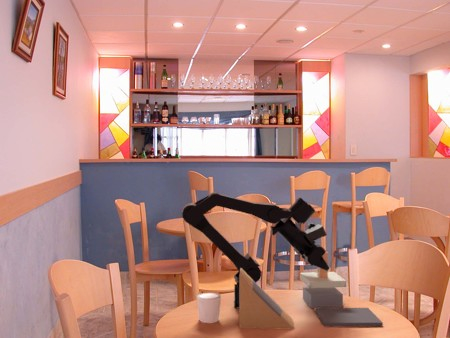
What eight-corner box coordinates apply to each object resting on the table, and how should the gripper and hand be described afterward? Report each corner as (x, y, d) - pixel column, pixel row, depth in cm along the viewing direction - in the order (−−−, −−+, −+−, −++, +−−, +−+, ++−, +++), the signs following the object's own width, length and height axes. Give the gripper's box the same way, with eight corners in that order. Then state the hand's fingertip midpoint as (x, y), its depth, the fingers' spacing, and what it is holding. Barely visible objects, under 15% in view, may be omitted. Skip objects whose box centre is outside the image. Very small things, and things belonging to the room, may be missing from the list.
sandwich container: (295, 329, 133) (295, 275, 132) (239, 328, 133) (239, 274, 133) (293, 319, 141) (293, 267, 141) (240, 318, 142) (240, 266, 141)
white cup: (193, 322, 138) (193, 297, 138) (202, 314, 144) (202, 291, 144) (215, 325, 136) (215, 300, 135) (224, 317, 142) (224, 293, 142)
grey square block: (311, 308, 150) (311, 295, 150) (302, 298, 160) (302, 286, 160) (342, 307, 151) (342, 294, 151) (332, 297, 161) (332, 285, 161)
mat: (324, 326, 134) (324, 323, 134) (315, 311, 147) (315, 308, 147) (382, 326, 135) (382, 322, 134) (367, 310, 148) (367, 307, 147)
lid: (309, 288, 149) (309, 255, 149) (300, 278, 161) (300, 248, 160) (345, 287, 150) (346, 254, 150) (334, 277, 162) (334, 247, 161)
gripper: (319, 220, 145) (354, 256, 147) (303, 212, 164) (334, 244, 165) (293, 247, 145) (329, 283, 146) (279, 236, 163) (312, 268, 165)
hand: (326, 268), depth 156 cm, fingers closed on lid, 3 cm apart
